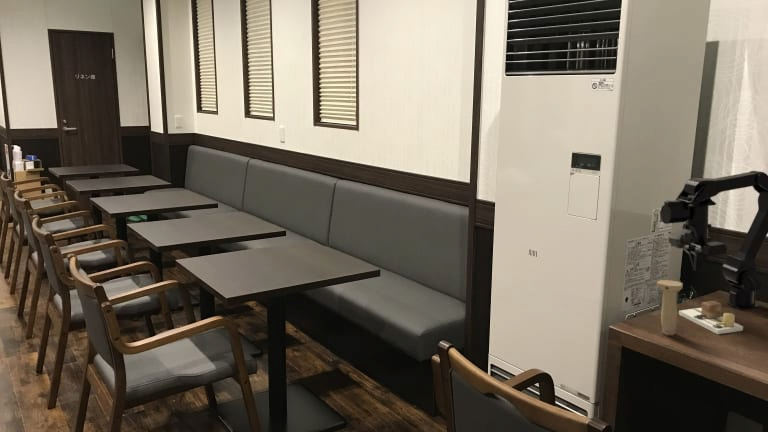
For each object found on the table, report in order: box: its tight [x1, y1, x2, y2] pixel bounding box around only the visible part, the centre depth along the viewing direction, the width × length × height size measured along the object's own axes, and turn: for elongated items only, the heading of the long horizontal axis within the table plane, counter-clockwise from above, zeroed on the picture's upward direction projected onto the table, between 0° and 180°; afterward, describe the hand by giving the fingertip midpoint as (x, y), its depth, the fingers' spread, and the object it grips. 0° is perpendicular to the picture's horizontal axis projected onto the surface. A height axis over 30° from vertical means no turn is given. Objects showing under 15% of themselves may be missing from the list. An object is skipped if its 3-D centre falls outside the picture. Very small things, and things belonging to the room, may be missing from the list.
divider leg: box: [697, 300, 722, 319], centre depth 178 cm, size 6×3×4 cm, turn 101°
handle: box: [656, 279, 683, 336], centre depth 170 cm, size 5×6×15 cm
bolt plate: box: [678, 307, 744, 335], centre depth 177 cm, size 8×16×4 cm, turn 11°
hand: (696, 270), depth 185 cm, fingers closed
